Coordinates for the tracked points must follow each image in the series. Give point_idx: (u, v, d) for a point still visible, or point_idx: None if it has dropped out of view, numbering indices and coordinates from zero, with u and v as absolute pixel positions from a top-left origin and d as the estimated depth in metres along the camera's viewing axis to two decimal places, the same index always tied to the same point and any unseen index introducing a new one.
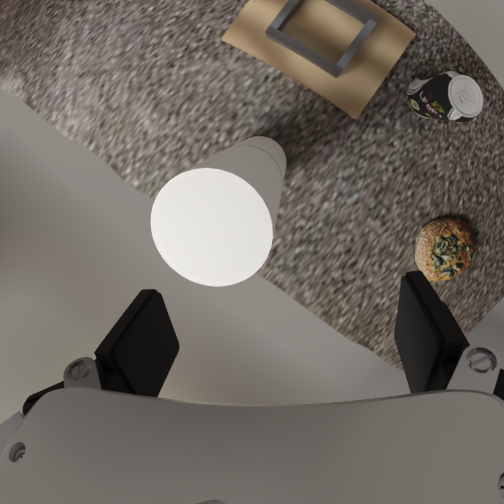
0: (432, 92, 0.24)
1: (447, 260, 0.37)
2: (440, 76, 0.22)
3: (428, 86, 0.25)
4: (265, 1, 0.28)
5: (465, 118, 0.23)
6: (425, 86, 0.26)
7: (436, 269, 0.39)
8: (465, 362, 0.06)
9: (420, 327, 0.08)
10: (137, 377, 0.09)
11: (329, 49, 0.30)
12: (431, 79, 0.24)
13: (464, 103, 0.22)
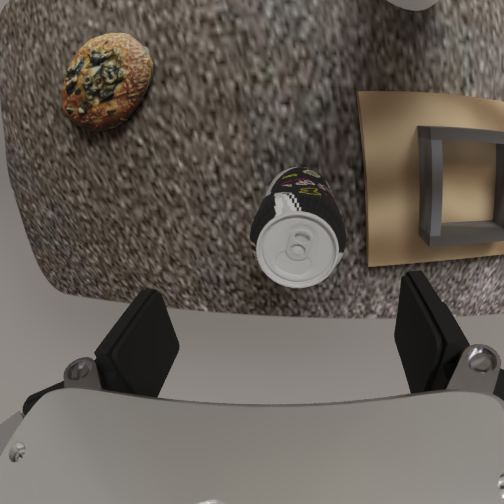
0: (333, 204, 0.18)
1: (88, 71, 0.21)
2: None
3: None
4: None
5: (265, 218, 0.17)
6: None
7: (91, 51, 0.21)
8: (465, 362, 0.06)
9: (420, 327, 0.08)
10: (137, 377, 0.09)
11: (445, 158, 0.22)
12: None
13: (290, 237, 0.16)
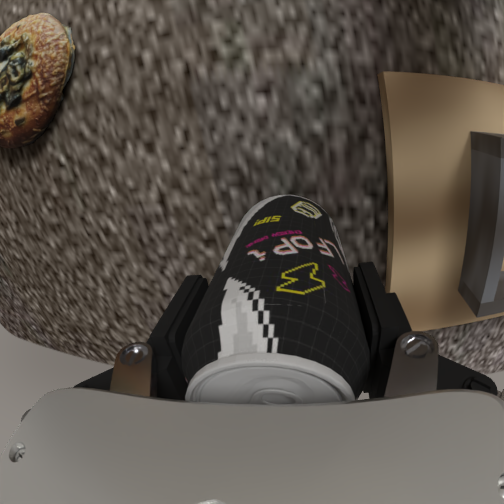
0: (349, 299, 0.09)
1: None
2: None
3: (354, 295, 0.10)
4: None
5: (201, 350, 0.07)
6: (351, 282, 0.11)
7: (0, 43, 0.11)
8: (399, 347, 0.07)
9: (364, 314, 0.09)
10: None
11: None
12: None
13: (254, 397, 0.07)
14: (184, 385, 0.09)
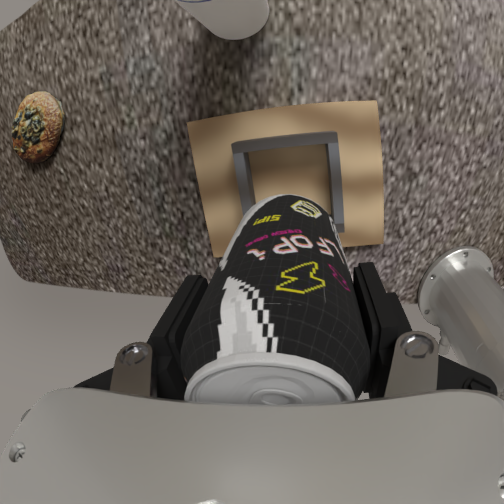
0: (349, 299, 0.09)
1: (23, 123, 0.29)
2: None
3: (355, 294, 0.10)
4: (365, 172, 0.30)
5: (200, 349, 0.07)
6: (351, 281, 0.11)
7: (25, 108, 0.29)
8: (399, 347, 0.07)
9: (364, 314, 0.09)
10: None
11: (266, 164, 0.31)
12: None
13: (253, 396, 0.07)
14: (184, 385, 0.09)
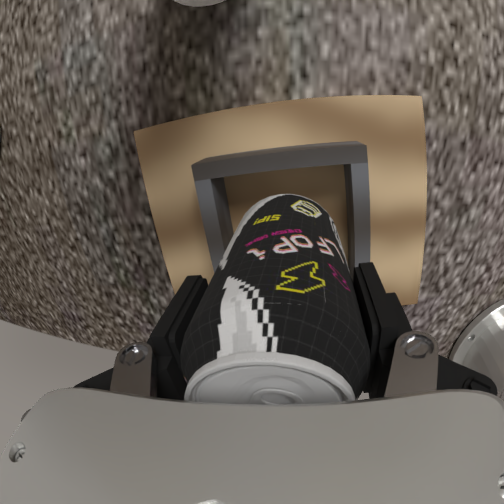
0: (349, 298, 0.08)
1: None
2: None
3: (355, 293, 0.10)
4: (402, 206, 0.19)
5: (200, 349, 0.07)
6: (351, 281, 0.11)
7: None
8: (398, 347, 0.07)
9: (364, 314, 0.09)
10: None
11: (251, 194, 0.20)
12: None
13: (253, 396, 0.07)
14: (184, 385, 0.09)
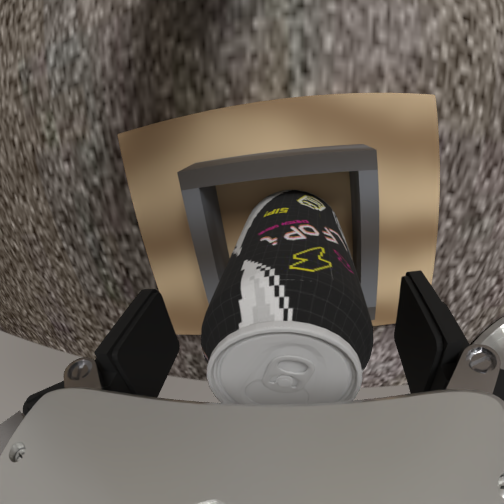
0: (353, 279, 0.10)
1: None
2: None
3: (357, 277, 0.11)
4: (412, 216, 0.17)
5: (222, 323, 0.08)
6: (354, 267, 0.12)
7: None
8: (465, 362, 0.06)
9: (420, 327, 0.08)
10: (137, 377, 0.09)
11: (246, 203, 0.18)
12: None
13: (270, 364, 0.08)
14: None
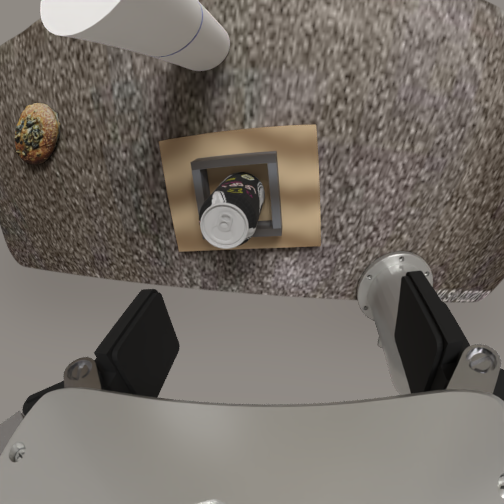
0: (250, 198, 0.29)
1: (25, 131, 0.35)
2: (257, 219, 0.29)
3: (256, 201, 0.31)
4: (304, 186, 0.37)
5: (206, 206, 0.28)
6: (257, 199, 0.32)
7: (26, 117, 0.34)
8: (465, 362, 0.06)
9: (420, 327, 0.08)
10: (137, 377, 0.09)
11: (221, 178, 0.38)
12: (259, 210, 0.31)
13: (219, 217, 0.28)
14: None
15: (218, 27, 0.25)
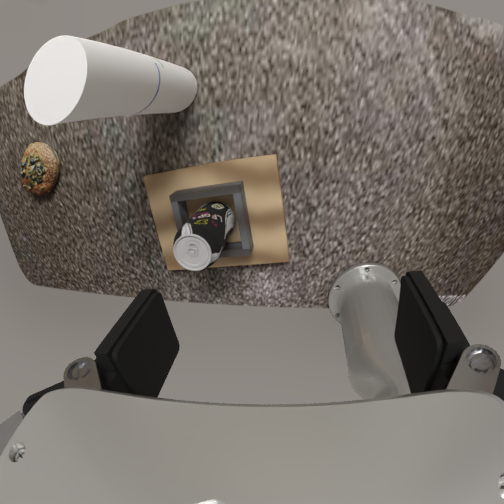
0: (214, 227, 0.35)
1: (29, 168, 0.42)
2: (220, 245, 0.35)
3: (221, 229, 0.37)
4: (269, 210, 0.43)
5: (177, 237, 0.34)
6: (222, 226, 0.37)
7: (29, 156, 0.42)
8: (465, 362, 0.06)
9: (420, 327, 0.08)
10: (137, 377, 0.09)
11: (197, 206, 0.44)
12: (223, 236, 0.37)
13: (188, 246, 0.34)
14: None
15: (180, 77, 0.32)
